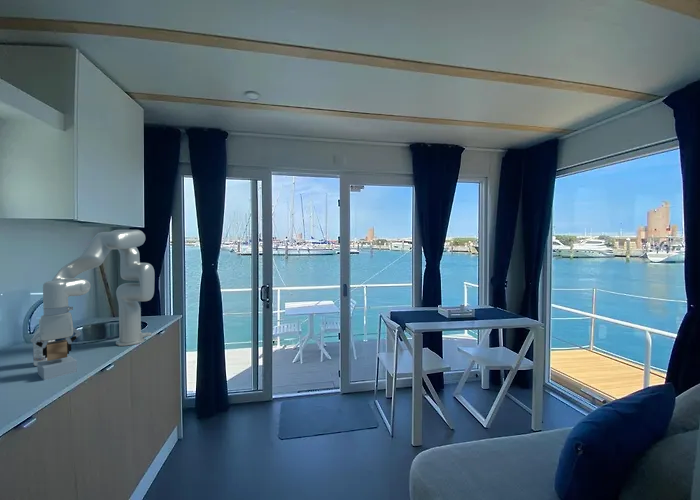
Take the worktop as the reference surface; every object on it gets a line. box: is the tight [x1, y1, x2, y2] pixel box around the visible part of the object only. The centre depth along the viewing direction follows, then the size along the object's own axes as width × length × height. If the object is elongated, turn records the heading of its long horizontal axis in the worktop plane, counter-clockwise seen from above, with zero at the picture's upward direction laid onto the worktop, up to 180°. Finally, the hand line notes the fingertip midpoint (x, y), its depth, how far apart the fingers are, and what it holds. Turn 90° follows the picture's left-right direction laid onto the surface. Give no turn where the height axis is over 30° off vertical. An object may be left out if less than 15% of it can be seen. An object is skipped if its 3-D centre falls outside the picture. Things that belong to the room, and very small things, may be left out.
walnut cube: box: [47, 339, 68, 361], centre depth 131 cm, size 6×6×6 cm
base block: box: [36, 355, 78, 381], centre depth 131 cm, size 10×10×5 cm
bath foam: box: [32, 318, 56, 367], centre depth 141 cm, size 7×7×20 cm
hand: (57, 354), depth 131 cm, fingers closed on walnut cube, 5 cm apart
